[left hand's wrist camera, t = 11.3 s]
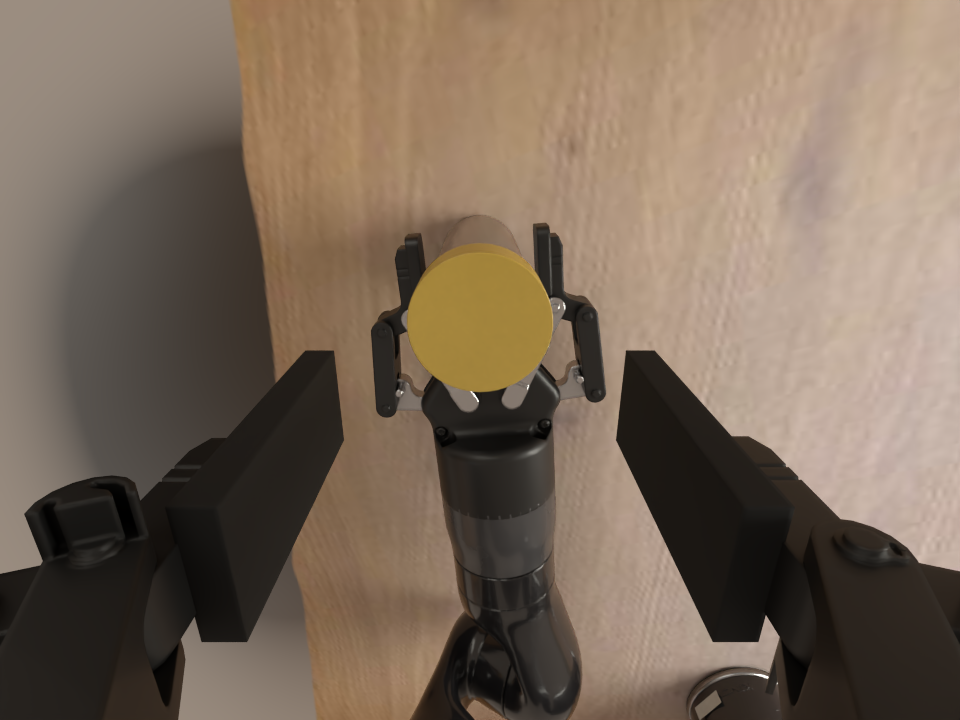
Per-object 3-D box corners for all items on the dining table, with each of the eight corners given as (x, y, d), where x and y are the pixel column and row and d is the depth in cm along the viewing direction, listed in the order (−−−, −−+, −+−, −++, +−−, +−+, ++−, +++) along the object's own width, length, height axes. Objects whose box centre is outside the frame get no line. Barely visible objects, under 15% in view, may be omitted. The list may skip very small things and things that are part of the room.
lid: (454, 216, 20) (451, 222, 18) (572, 287, 22) (582, 300, 20) (390, 332, 22) (381, 350, 20) (502, 393, 23) (504, 415, 21)
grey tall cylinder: (466, 200, 34) (455, 234, 19) (531, 240, 34) (568, 300, 20) (429, 266, 35) (394, 343, 21) (492, 302, 36) (500, 400, 22)
